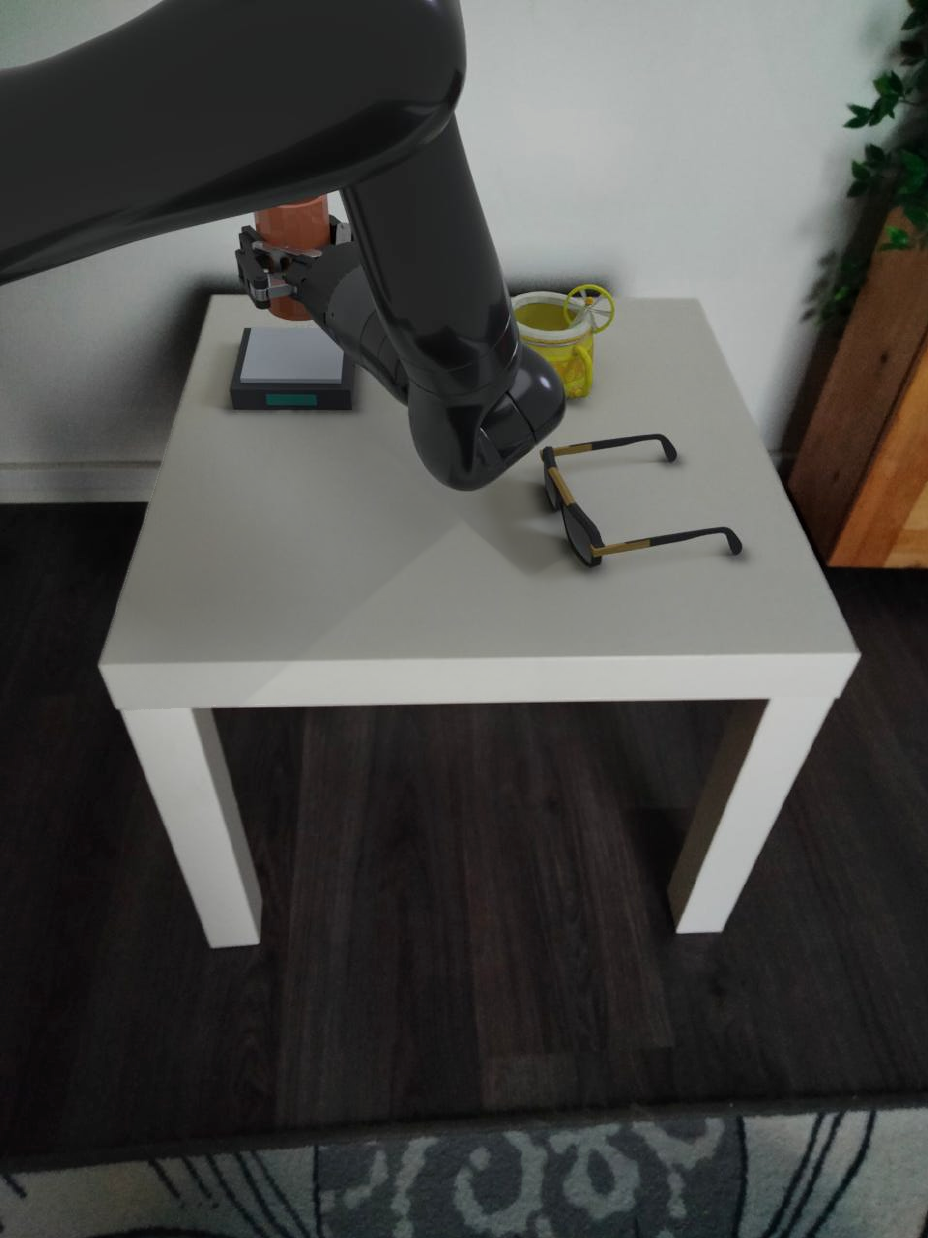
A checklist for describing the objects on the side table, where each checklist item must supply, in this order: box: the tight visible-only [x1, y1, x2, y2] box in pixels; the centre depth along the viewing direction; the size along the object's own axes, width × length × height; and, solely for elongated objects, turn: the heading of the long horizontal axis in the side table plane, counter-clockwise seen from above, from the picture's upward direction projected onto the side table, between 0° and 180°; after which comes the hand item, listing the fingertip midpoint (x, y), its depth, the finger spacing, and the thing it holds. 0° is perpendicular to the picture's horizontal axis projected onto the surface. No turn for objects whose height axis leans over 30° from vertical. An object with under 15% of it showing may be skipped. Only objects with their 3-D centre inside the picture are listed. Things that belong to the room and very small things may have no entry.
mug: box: [510, 283, 616, 400], centre depth 91 cm, size 13×11×12 cm
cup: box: [253, 194, 331, 322], centre depth 78 cm, size 6×6×10 cm
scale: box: [229, 326, 356, 411], centre depth 94 cm, size 12×12×3 cm
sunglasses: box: [539, 433, 743, 568], centre depth 80 cm, size 14×15×5 cm
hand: (282, 228), depth 79 cm, fingers closed on cup, 6 cm apart
